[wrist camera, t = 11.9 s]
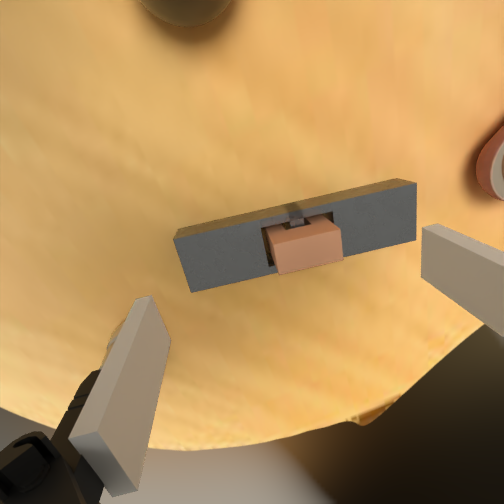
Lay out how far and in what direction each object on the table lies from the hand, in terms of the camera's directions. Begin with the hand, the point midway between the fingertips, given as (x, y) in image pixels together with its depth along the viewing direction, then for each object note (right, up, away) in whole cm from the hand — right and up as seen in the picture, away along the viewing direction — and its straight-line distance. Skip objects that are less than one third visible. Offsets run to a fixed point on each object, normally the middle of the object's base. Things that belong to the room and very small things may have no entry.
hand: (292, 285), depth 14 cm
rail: (+3, +5, +23) cm, 24 cm away
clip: (+3, +4, +23) cm, 24 cm away
